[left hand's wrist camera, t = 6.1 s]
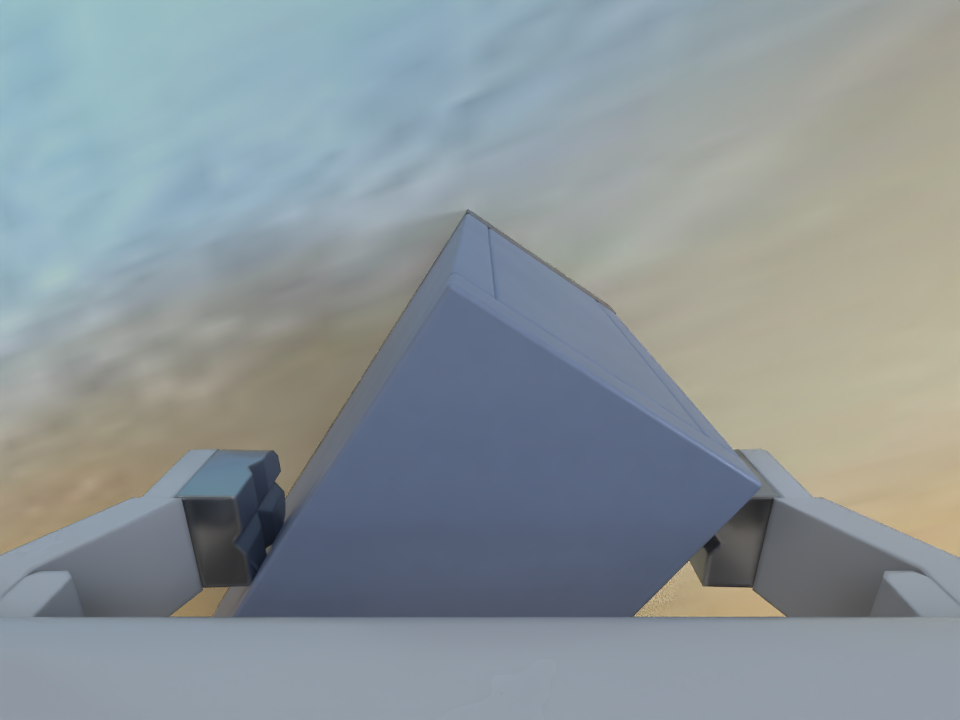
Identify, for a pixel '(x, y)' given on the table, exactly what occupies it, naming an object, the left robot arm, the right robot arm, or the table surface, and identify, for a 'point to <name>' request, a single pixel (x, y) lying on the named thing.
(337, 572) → the cabinet
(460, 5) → the table surface
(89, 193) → the table surface
